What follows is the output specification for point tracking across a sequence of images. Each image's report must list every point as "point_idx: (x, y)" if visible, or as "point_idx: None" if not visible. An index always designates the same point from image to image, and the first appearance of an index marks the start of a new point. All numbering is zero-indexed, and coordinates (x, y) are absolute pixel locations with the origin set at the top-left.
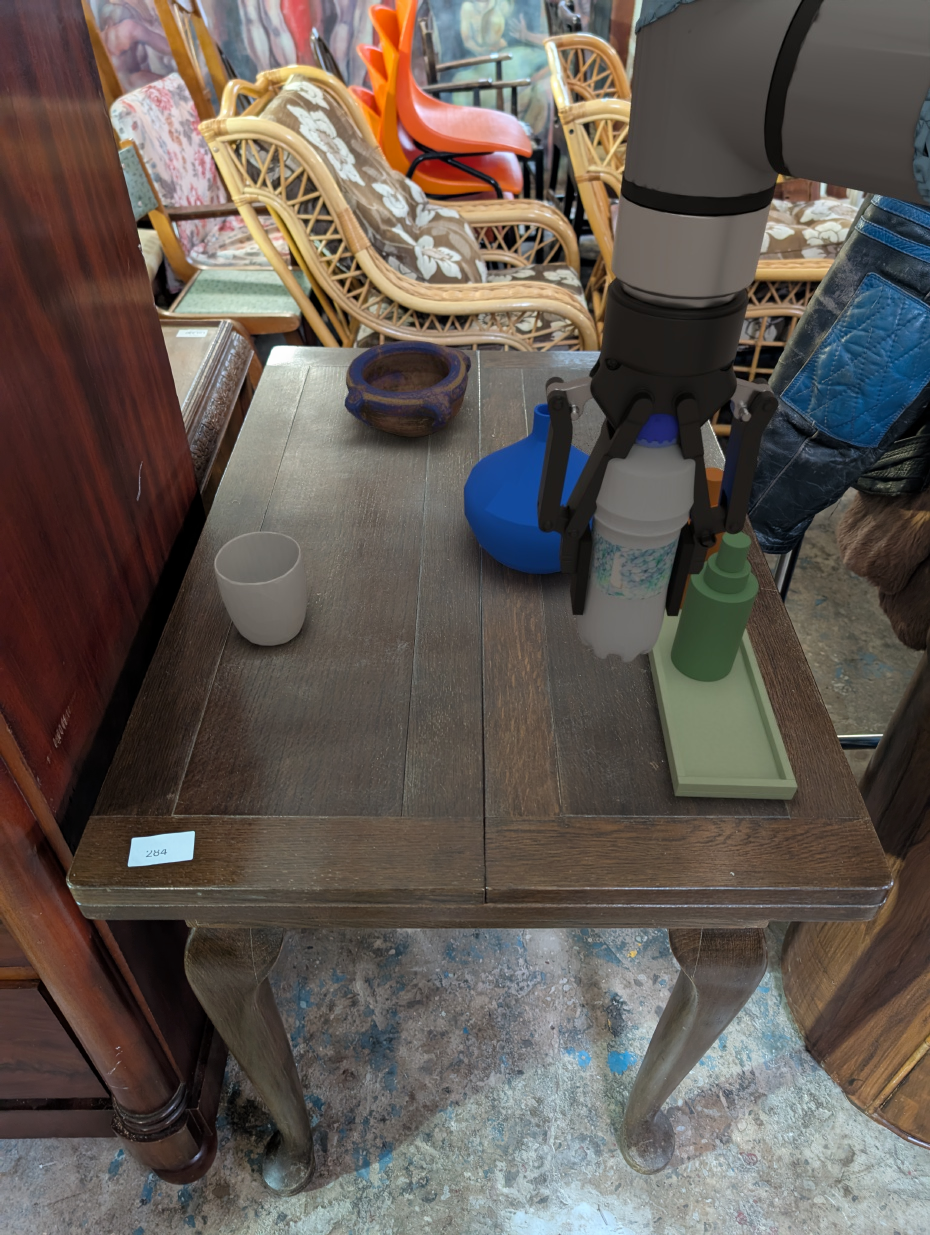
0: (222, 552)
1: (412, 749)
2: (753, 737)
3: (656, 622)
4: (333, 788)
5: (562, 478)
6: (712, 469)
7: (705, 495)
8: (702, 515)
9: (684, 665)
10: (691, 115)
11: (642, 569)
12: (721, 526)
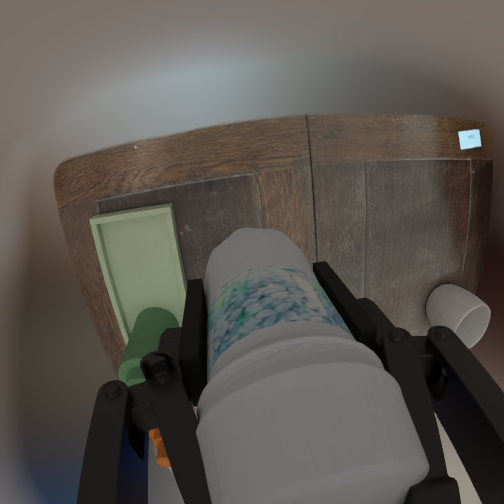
0: (484, 327)
1: (362, 216)
2: (118, 262)
3: (217, 263)
4: (404, 180)
5: (480, 401)
6: (167, 465)
7: (172, 447)
8: (172, 408)
9: (169, 316)
10: None
11: (269, 297)
12: (135, 394)
